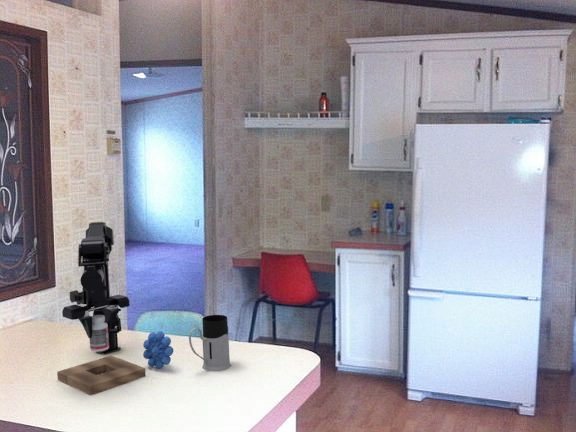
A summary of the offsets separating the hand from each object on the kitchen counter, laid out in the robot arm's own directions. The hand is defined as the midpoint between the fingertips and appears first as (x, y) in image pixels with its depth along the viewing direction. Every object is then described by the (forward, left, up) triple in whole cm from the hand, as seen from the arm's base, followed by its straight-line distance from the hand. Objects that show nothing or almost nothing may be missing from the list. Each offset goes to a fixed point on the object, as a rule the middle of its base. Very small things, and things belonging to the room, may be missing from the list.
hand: (98, 335), depth 190 cm
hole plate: (0, 0, -13) cm, 13 cm away
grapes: (-16, +7, -13) cm, 22 cm away
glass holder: (-25, +19, -13) cm, 34 cm away
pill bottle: (0, 0, -4) cm, 4 cm away
